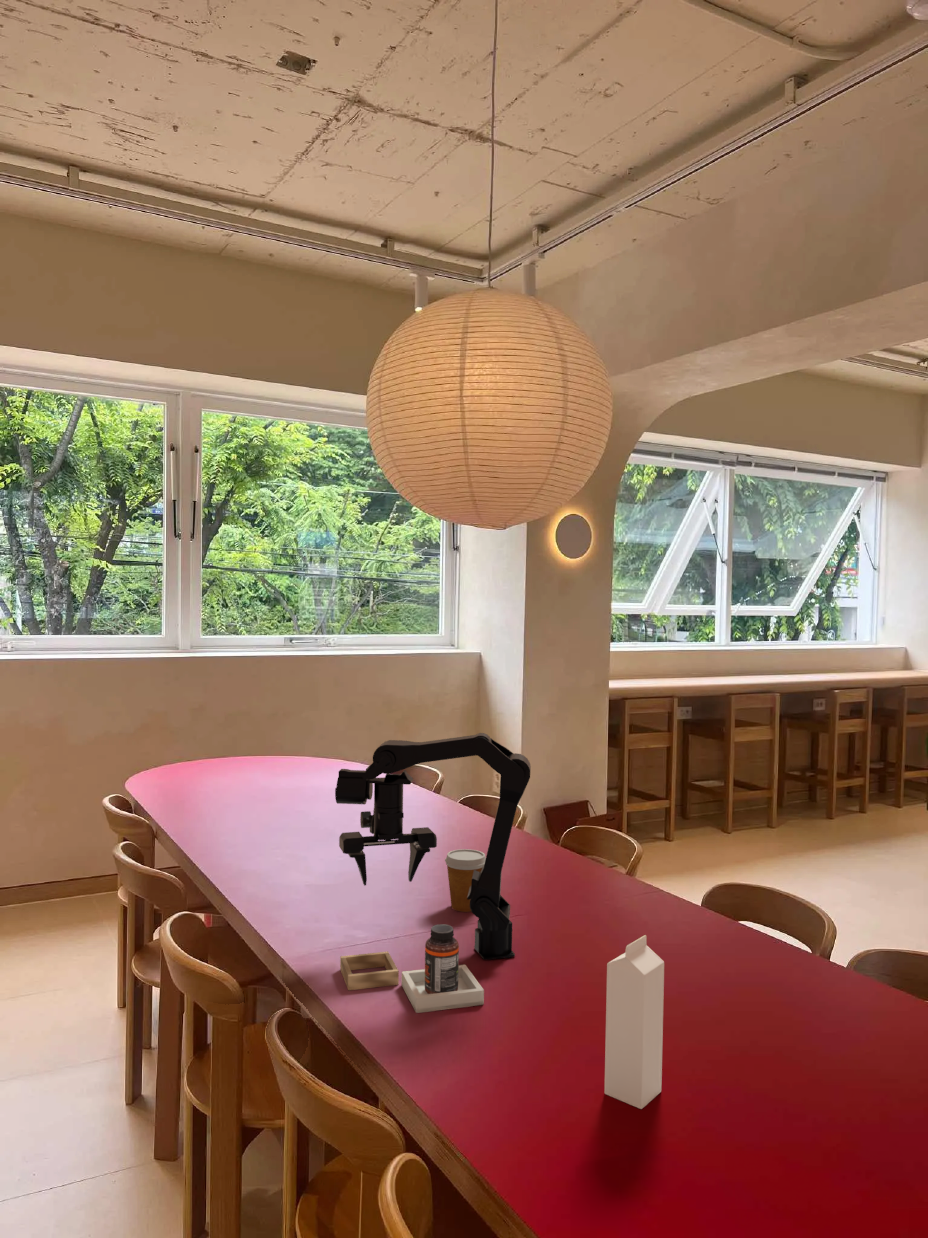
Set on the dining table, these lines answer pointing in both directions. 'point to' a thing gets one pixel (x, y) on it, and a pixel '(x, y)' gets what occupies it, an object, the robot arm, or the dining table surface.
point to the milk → (634, 1025)
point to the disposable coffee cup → (462, 875)
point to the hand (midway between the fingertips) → (387, 883)
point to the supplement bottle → (441, 960)
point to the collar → (369, 978)
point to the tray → (463, 997)
